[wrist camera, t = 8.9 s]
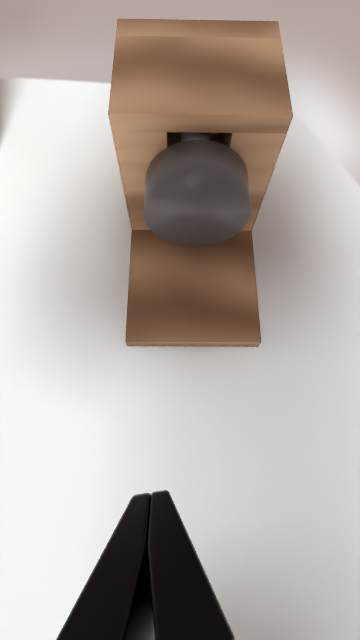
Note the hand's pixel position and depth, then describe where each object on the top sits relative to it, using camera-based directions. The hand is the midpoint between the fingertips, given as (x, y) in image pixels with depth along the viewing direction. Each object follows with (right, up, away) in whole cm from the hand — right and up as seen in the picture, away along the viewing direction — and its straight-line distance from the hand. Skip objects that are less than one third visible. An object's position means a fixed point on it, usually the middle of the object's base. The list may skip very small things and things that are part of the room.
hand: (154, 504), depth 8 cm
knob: (+2, +13, +15) cm, 20 cm away
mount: (+2, +10, +18) cm, 21 cm away
